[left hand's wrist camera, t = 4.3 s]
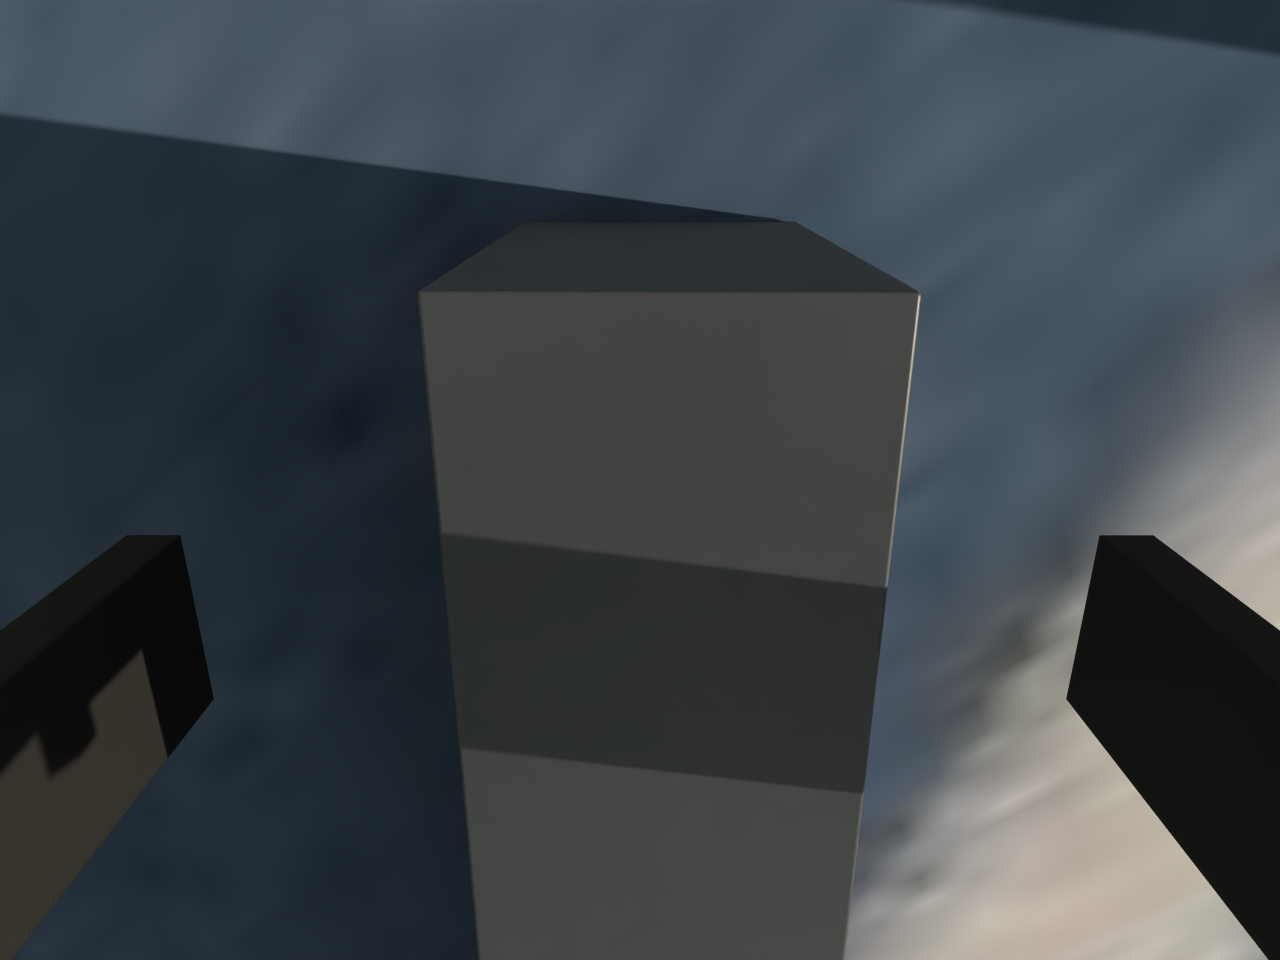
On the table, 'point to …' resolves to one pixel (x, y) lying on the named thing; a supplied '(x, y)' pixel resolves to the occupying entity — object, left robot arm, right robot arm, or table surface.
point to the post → (665, 578)
